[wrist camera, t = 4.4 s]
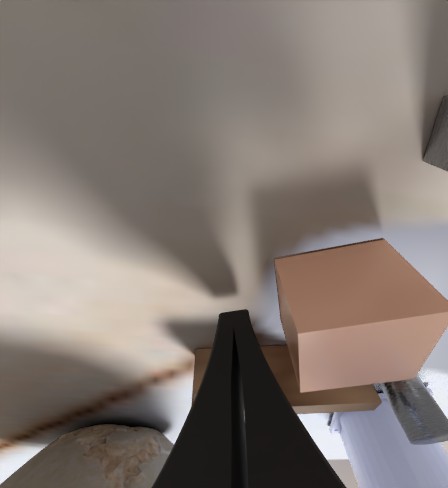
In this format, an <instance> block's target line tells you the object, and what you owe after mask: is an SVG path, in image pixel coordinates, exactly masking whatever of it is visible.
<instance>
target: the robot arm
mask: <svg viewBox="0 0 448 488" xmlns="http://www.w3.org/2000/svg"><path fill="white" fill-rule="evenodd" d="M427 390H428V391H429V393H430V394H431V395H433V392H432V391H431V389H429V388H427ZM378 395H379V397H380V399H381V401H382V403H381V404H380V405H379V406H378V407H377V408H376V409H375V410H374V411H352V412H334V414H333V417H332V421H331V425H330V429H329V430H330V433H331V434H340V435H341V438H342V441H343V443H344V446H345V449H346V452H347V455H348V458H349V460H350V463H351V466H352V469H353V472H354V475H355V478H356V480H357V483H358V486H359V488H448V453H447V452H446V450H445V449H444V447H443V445H442V444H441V442H439V443H434V444H426V445H414V444H411V443H410V442H409V440H408V438H407V436H406V434H405V432H404V430H403V429H402V427H401V425H400V423H399V421H398V419H397V417H396V415H395V414H394V412H393V410H392V408H391V406H390V404H389V402H388V400H387V399H386V397H385V395H384V393H378ZM244 414H245V419H244ZM152 488H346V487H345V485H344V484H343V482H342V481H341V480H340V478H339V477H338V476H337V474H336V473H335V471H334V470H333V468H332V467H331V466H330V464H329V463H328V461H327V460H326V458H325V457H324V455H323V454H322V452H321V451H320V450H319V448H318V447H317V445H316V444H315V442H314V441H313V439H312V438H311V436H310V434H309V433H308V431H307V430H306V428H305V427H304V425H303V424H302V422H301V421H300V419H299V417H298V416H297V414H296V413H295V411H294V409H293V408H292V406H291V404H290V403H289V401H288V399H287V398H286V396H285V394H284V392H283V391H282V389H281V387H280V385H279V384H278V382H277V380H276V378H275V376H274V374H273V372H272V371H271V369H270V367H269V365H268V363H267V361H266V359H265V357H264V354H263V352H262V350H261V348H260V345H259V343H258V341H257V338H256V336H255V333H254V330H253V328H252V325H251V321H250V317H249V312H248V310H246V309H245V310H238V311H231V312H225V313H220V314H219V319H218V325H217V330H216V335H215V339H214V343H213V347H212V350H211V354H210V357H209V361H208V364H207V367H206V370H205V373H204V376H203V379H202V382H201V384H200V387H199V390H198V392H197V395H196V397H195V400H194V402H193V405H192V407H191V410H190V412H189V414H188V416H187V419H186V421H185V423H184V425H183V428H182V430H181V432H180V434H179V436H178V438H177V440H176V442H175V444H174V446H173V448H172V450H171V452H170V454H169V456H168V458H167V460H166V462H165V464H164V466H163V468H162V470H161V471H160V473H159V475H158V477H157V479H156V481H155V482H154V484H153V486H152Z"/></svg>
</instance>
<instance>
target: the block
mask: <svg viewBox="0 0 448 488" xmlns="http://www.w3.org/2000/svg"><path fill="white" fill-rule="evenodd" d="M274 262H275V271H276V273H275V274H276V283H277V292H278V301H279V309H280V319H281V323H282V326H283V330H284V334H285V338H286V341H287V345H288V349H289V352H290V356H291V360H292V364H293V367H294V371H295V375H296V379H297V382H298V386H299V390H300V393H302V392H310V391H319V390H327V389H335V388H343V387H352V386H360V385H368V384H376V383H385V382H393V381H401V380H409V379H414V378H415V376H416V375H417V373H418V372H419V370H420V369H421V367H422V366H423V364H424V362H425V361H426V359H427V357H428V356H429V354H430V353H431V351H432V350H433V348H434V347H435V345H436V343H437V342H438V340H439V339H440V337H441V336H442V334H443V332H444V331H445V330H446V328H447V326H448V300H447V299H446V298H445V297H443V296H442V295H441V294H440V293H439V292H438V291H437V290H436V289H435V288H434V287H433V286H432V285H431V284H430V283H429V282H428V281H427V280H426V279H425V278H424V277H422V275H421V274H420V273H419V272H418V271H417V270H416V269H415V268H413V267H412V266H411V265H410V264H409V263H408V262H407V261H406V260H405V259H404V258H403V257H402V256H401V255H400V254H399V253H398V252H397V251H396V250H395V249H394V248H393V247H392V246H391V245H390V244H389V243H388V242H387V241H385V239H384V238H380V239H374V240H368V241H363V242H357V243H352V244H346V245H341V246H335V247H330V248H325V249H319V250H313V251H308V252H302V253H297V254H294V255H293V256H291V257H286V258H280V259H275V260H274Z"/></svg>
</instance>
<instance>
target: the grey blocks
mask: <svg viewBox="0 0 448 488" xmlns="http://www.w3.org/2000/svg"><path fill="white" fill-rule="evenodd" d="M423 161H424V162H426V163H429V164H431V165H434V166H436V167H439V168H441V169H443V170H446V171H448V95H447V96H444V97H443V100H442V104H441V107H440V110H439V113H438V116H437V119H436V122H435V125H434V128H433V131H432V135H431V138H430V141H429V144H428V147H427V150H426V153H425V156H424V159H423ZM378 384H379V385H380V387H381V389H382V391H383V393H384V395H385V397H386V399H387V400H388V402H389V404H390V406H391V408H392V410H393V412H394V414H395V415H396V417H397V419H398V421H399V423H400V425H401V427H402V429H403V430H404V432H405V434H406V436H407V438H408V440H409V442H410V443H411V444H414V445H426V444H434V443H439V442H444V441H447V440H448V419H447V418H446V416H445V415H444V413H443V412H442V410H441V409H440V407H439V406H438V404H437V403H436V401H435V400H434V398H433V397H432V395H431V394H430V393H429V391H428V390H427V388H426V387H425V385H424V384H423V382H422V381H421V379H420V378H419V376H418V375H416V376H415V378H414V379H409V380H401V381H393V382H385V383H378Z"/></svg>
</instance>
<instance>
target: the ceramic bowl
mask: <svg viewBox="0 0 448 488" xmlns="http://www.w3.org/2000/svg"><path fill="white" fill-rule="evenodd" d="M173 446H174V444H173V443H171V442H170V441H169V440H168V439H167V438H166V437H165V436H164V435H163V434H162V433H160V432H159V431H157V430H155V429H153V428H147V427H128V426H124V425H114V424H104V425H95V426H91V427H85V428H80V429H78V430H75V431H72V432H69V433H66V434H64V435H62V436H60V437H59V438H58V439H57V440H55V441H54V442H52V443H51V444H49V445H48V446H47V447H45V448H44V449H43V450H41V451H40V452H39V453H38V454H36V455H35V456H34V457H33V458H31V459H30V460H29V461H28V462H26V463H25V464H24V465H23V466H22V467H20V468H19V469H18V470H17V471H16V472H14V473H13V474H12V475H11V476H10V477H9V478H7V479H6V480H5V481H4V482H3V483H2V484H1V485H0V488H152V486H153V484H154V482H155V481H156V479H157V477H158V475H159V473H160V471H161V470H162V468H163V466H164V464H165V462H166V460H167V458H168V456H169V454H170V452H171V450H172V448H173Z"/></svg>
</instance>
